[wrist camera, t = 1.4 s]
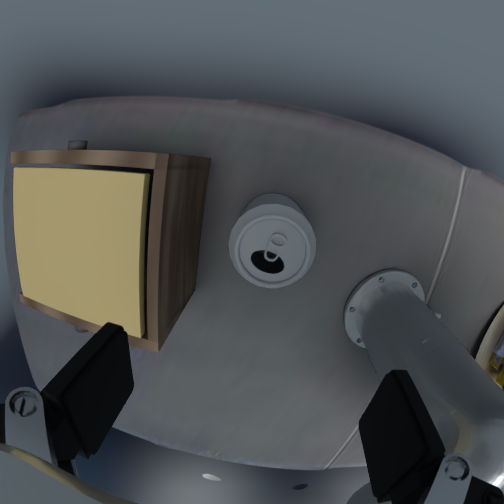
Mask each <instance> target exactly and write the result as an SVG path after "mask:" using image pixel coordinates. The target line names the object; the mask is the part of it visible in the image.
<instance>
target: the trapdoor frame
mask: <svg viewBox="0 0 504 504" xmlns="http://www.w3.org/2000/svg"><path fill="white" fill-rule="evenodd" d="M87 142H88V141H69V144H68V150H38V151H20V152H11V163H61V164H89V165H107V166H122V167H135V168H146V169H154V176H153V185H152V196H151V207H150V220H149V236H148V259H147V272H145V271H144V320H145V333H144V334H143V336H142V337H141V338H139V337H135V336H132V335H128V342H129V344H130V345H133V346H137V347H140V348H143V349H147V350H150V351H154V352H158V353H159V351H160V349H161V347H162V346H163V344H164V342H165V340H166V339H167V337H168V335H169V333H170V332H171V330H172V328H173V327H174V325H175V323H176V321H177V320H178V318H179V316H180V315H181V313H182V311H183V310H184V308H185V306H186V304H187V303H188V301H189V299H190V298H191V296H192V294H193V293H194V291H195V285H196V274H197V264H198V254H199V244H200V235H201V227H202V218H203V210H204V202H205V195H206V187H207V180H208V173H209V166H210V160H211V158H205V157H196V156H187V155H176V154H165V153H153V152H137V151H118V150H87ZM11 163H10V164H11ZM19 295H20V300H21V303H23V304H26V305H28V306H30V307H32V308H34V309H36V310H39V311H41V312H43V313H45V314H48V315H50V316H52V317H55V318H57V319H60V320H62V321H65V322H67V323H70V324H72V325H74V326H75V330H76V331H77V332H80V333H84V332H87V331H91V332H94V333H97V332H98V331H99V330H100V329H101V328H102V327H103V326H100V325H97V324H94V323H91V322H88V321H86V320H83V319H80V318H77V317H75V316H72V315H69V314H67V313H64V312H61V311H59V310H56V309H54V308H51V307H49V306H46V305H44V304H42V303H39V302H37V301H35V300H32V299H30V298H28V297H26V296H23V292H21V293H19Z"/></svg>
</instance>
